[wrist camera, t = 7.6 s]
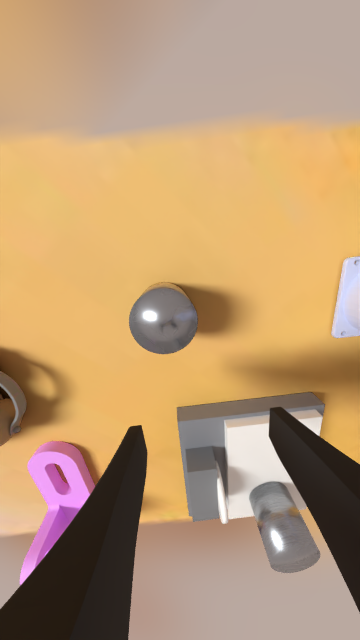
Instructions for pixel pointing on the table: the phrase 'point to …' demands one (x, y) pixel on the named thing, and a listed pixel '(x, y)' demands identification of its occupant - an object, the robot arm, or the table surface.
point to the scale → (236, 452)
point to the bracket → (56, 495)
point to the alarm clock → (10, 408)
